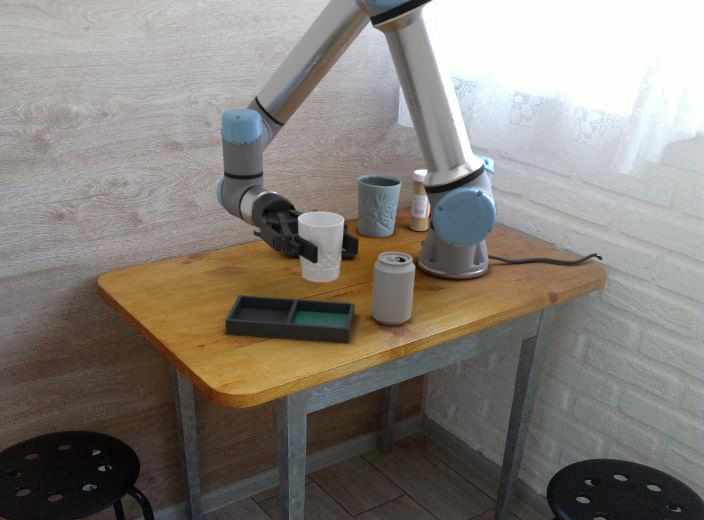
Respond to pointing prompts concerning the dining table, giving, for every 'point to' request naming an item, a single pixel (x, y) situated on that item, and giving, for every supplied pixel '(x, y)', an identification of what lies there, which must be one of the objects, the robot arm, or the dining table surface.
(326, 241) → the white cup
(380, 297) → the can
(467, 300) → the dining table surface
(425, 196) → the sprinkles bottle
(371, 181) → the embossed blue cup
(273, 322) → the divided tray
